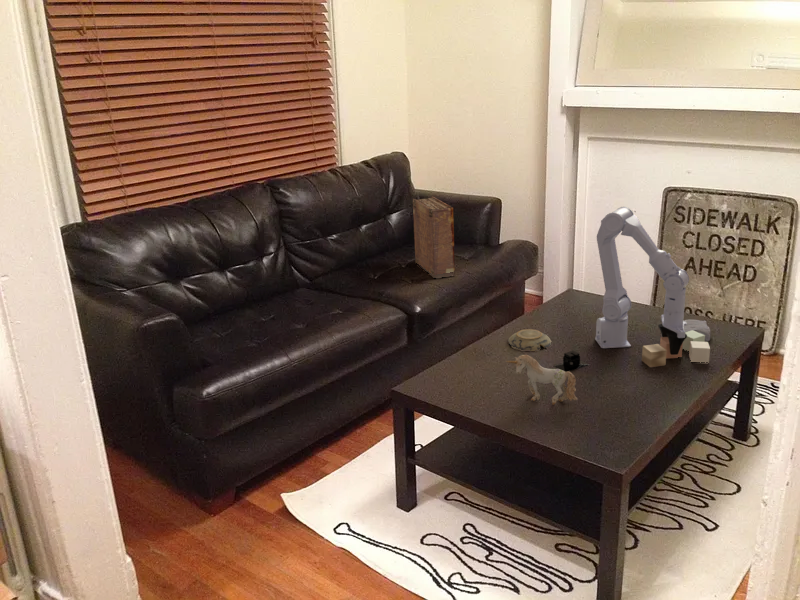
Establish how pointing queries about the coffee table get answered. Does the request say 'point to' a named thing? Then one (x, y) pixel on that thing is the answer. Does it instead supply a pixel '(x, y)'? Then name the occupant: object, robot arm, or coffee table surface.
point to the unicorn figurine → (546, 378)
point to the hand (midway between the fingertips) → (670, 350)
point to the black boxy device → (571, 362)
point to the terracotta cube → (665, 344)
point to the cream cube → (699, 351)
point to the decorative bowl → (529, 340)
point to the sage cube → (692, 339)
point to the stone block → (698, 327)
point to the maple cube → (654, 355)
